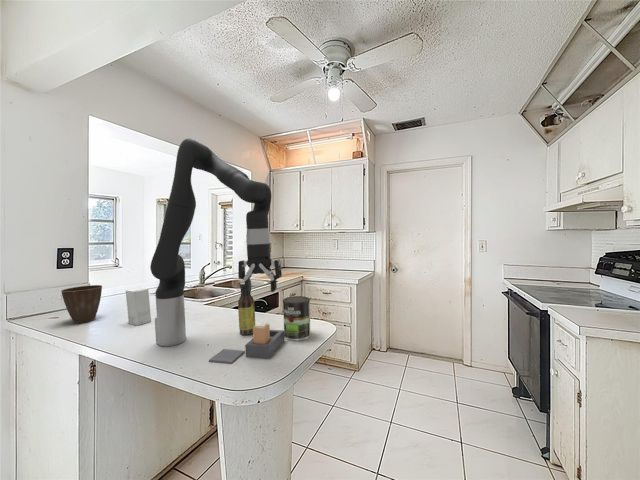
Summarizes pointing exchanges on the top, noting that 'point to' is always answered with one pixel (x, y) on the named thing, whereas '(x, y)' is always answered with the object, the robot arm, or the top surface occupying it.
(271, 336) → the grey block holder
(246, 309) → the sauce bottle
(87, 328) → the top surface
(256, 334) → the plug
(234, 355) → the mat
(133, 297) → the skincare box
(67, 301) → the plant pot
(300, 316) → the coffee can
